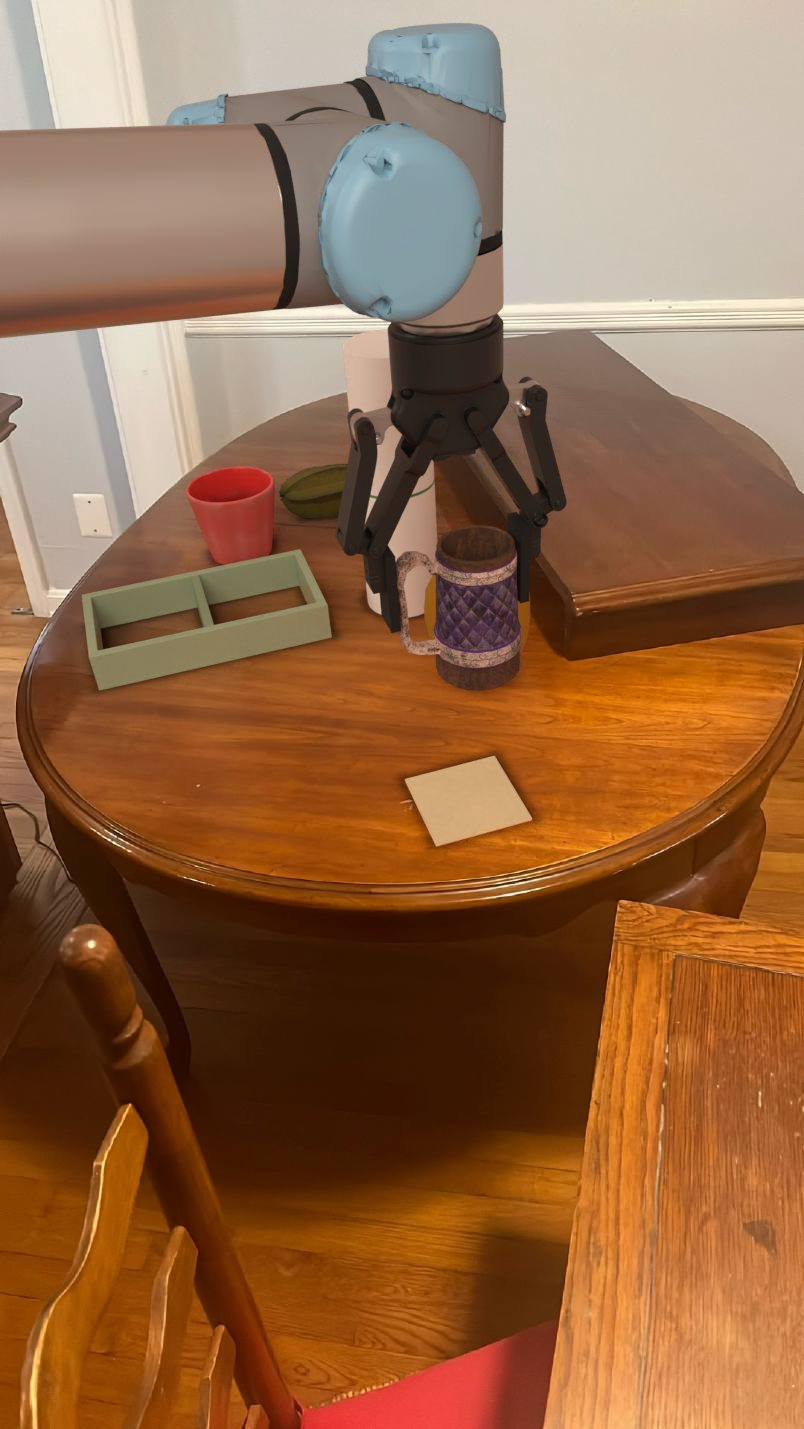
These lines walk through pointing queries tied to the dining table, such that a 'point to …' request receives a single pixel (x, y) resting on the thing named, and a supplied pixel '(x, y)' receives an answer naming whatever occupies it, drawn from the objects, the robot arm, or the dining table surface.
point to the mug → (469, 607)
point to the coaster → (467, 800)
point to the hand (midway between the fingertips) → (455, 608)
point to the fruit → (315, 491)
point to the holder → (203, 618)
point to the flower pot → (234, 512)
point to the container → (418, 520)
